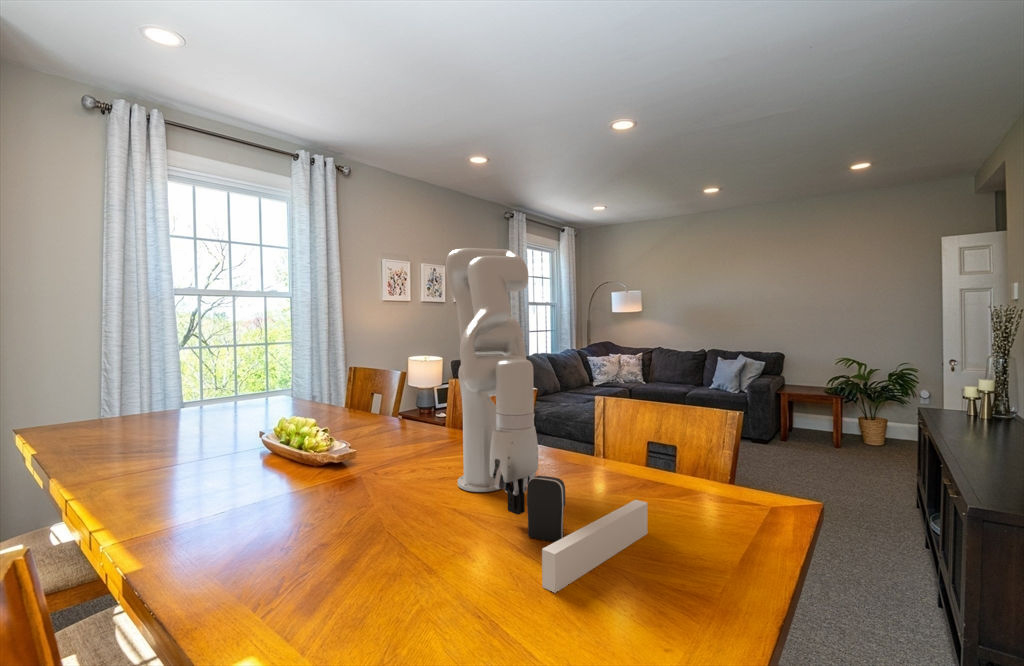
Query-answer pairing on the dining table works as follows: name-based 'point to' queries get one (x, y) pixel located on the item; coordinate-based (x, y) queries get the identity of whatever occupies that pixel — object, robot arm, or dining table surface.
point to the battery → (545, 508)
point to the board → (592, 545)
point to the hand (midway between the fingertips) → (516, 511)
